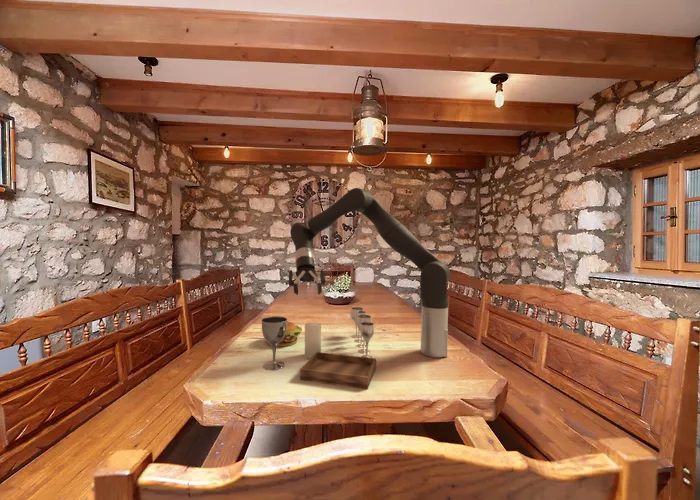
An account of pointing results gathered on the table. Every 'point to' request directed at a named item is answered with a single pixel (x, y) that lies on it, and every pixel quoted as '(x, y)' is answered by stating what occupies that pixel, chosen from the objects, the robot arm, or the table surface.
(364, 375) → the serving tray
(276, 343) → the wine glass
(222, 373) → the table surface
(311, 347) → the dome-topped cylinder
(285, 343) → the food
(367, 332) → the goblet set
